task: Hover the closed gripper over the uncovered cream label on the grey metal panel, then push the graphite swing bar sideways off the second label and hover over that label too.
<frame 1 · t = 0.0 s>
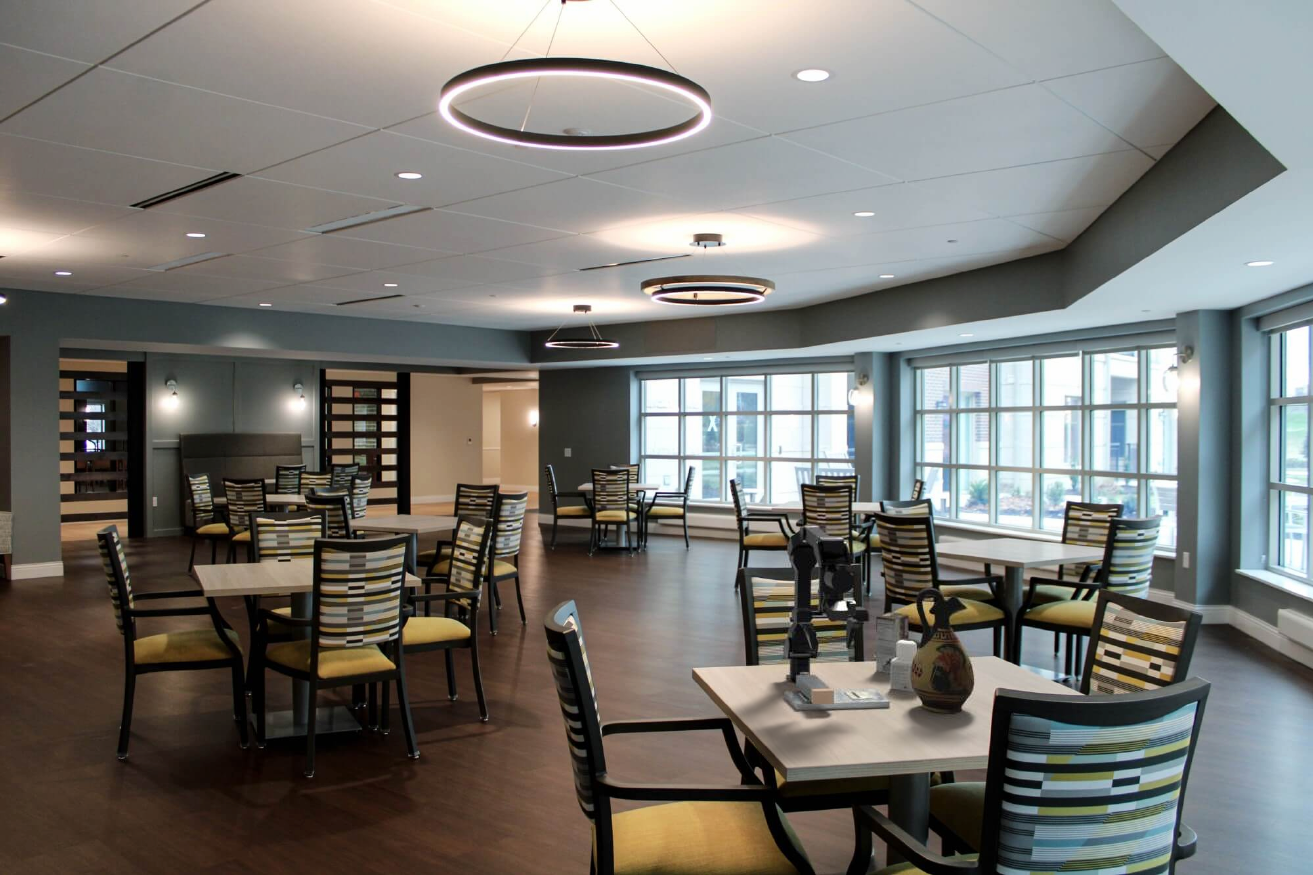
hand: (830, 648, 241), 15 cm above the table, fingers open, 9 cm apart
coffee box: (892, 670, 281), on the table
ceramic jug: (938, 708, 241), on the table
swing bar: (813, 690, 246), point 3 cm above the table, hinge at 0.0°
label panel: (836, 702, 246), on the table
container: (908, 688, 261), on the table
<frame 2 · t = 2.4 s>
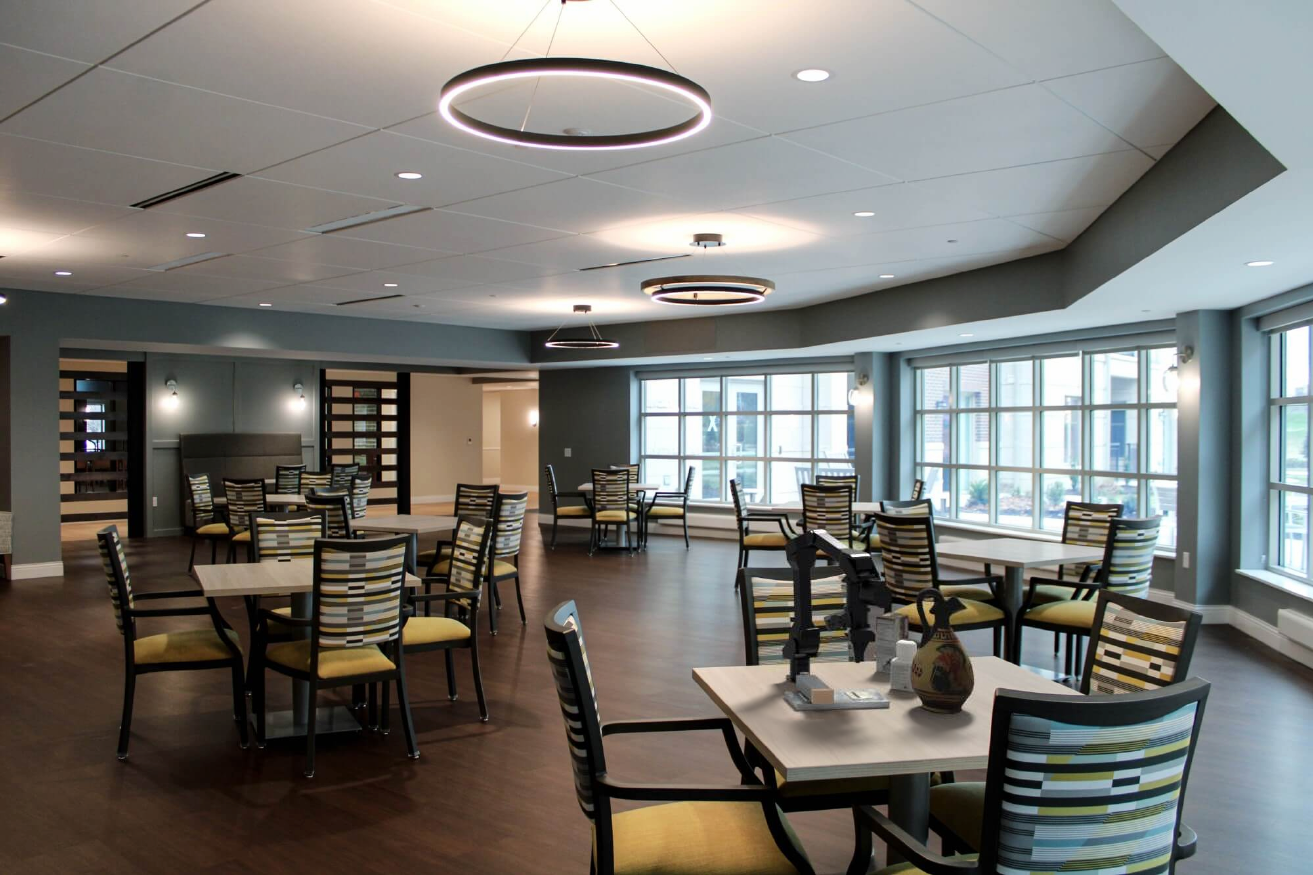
hand: (857, 662, 247), 10 cm above the table, fingers closed
nothing on the table moved.
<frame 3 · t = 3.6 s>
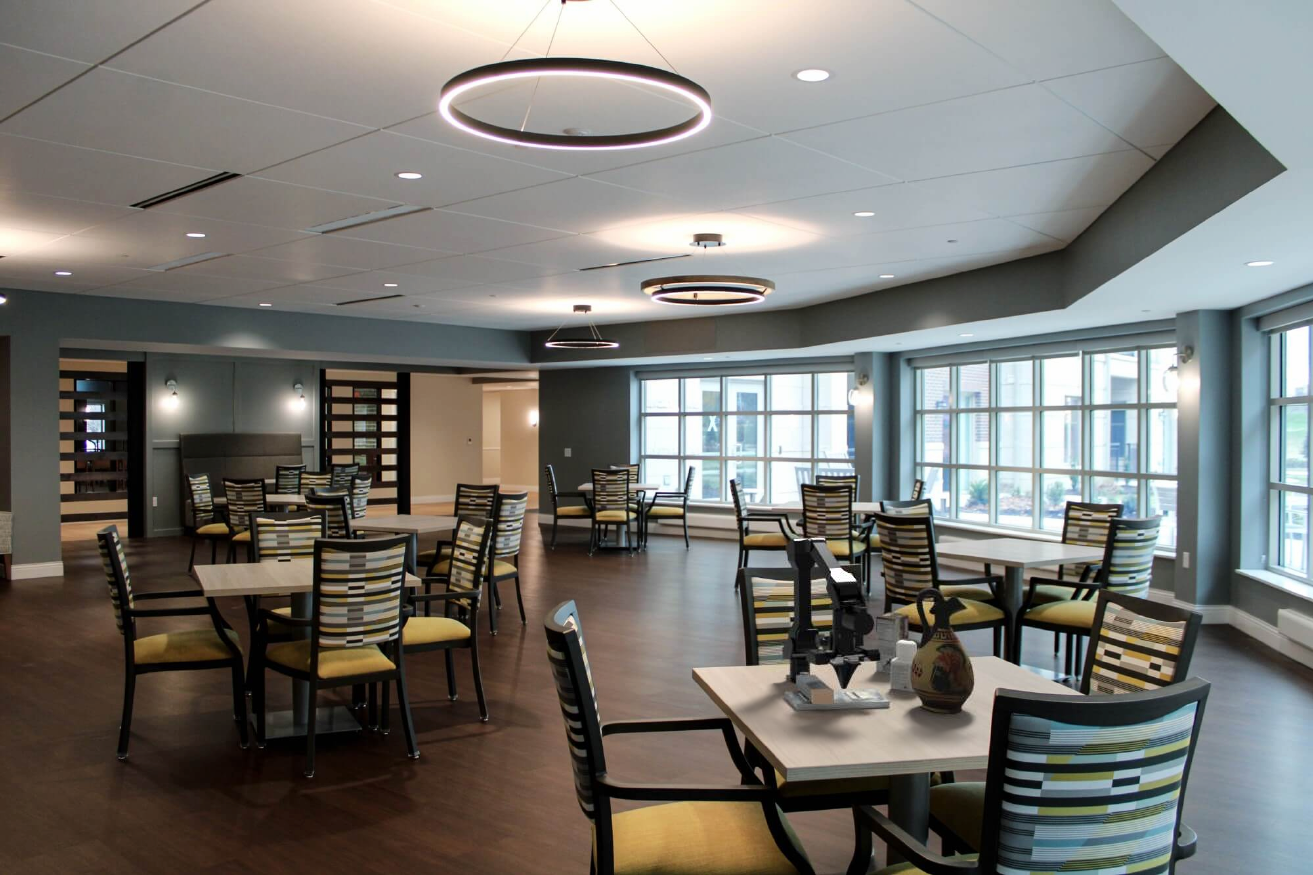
hand: (843, 688, 246), 4 cm above the table, fingers closed
nothing on the table moved.
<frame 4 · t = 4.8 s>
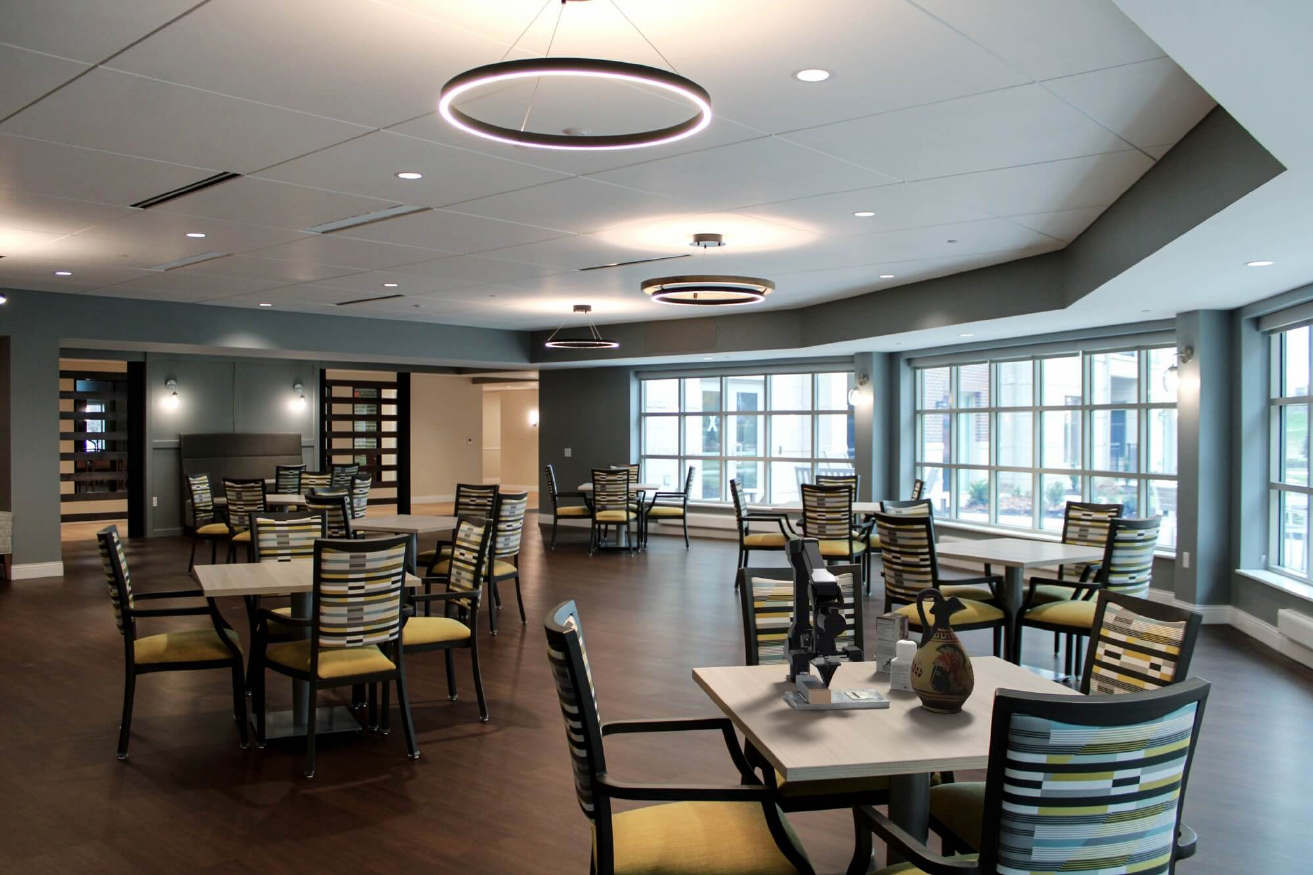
hand: (826, 689, 245), 4 cm above the table, fingers closed
swing bar: (811, 691, 246), point 3 cm above the table, hinge at -2.4°, touching gripper
everything else where it was.
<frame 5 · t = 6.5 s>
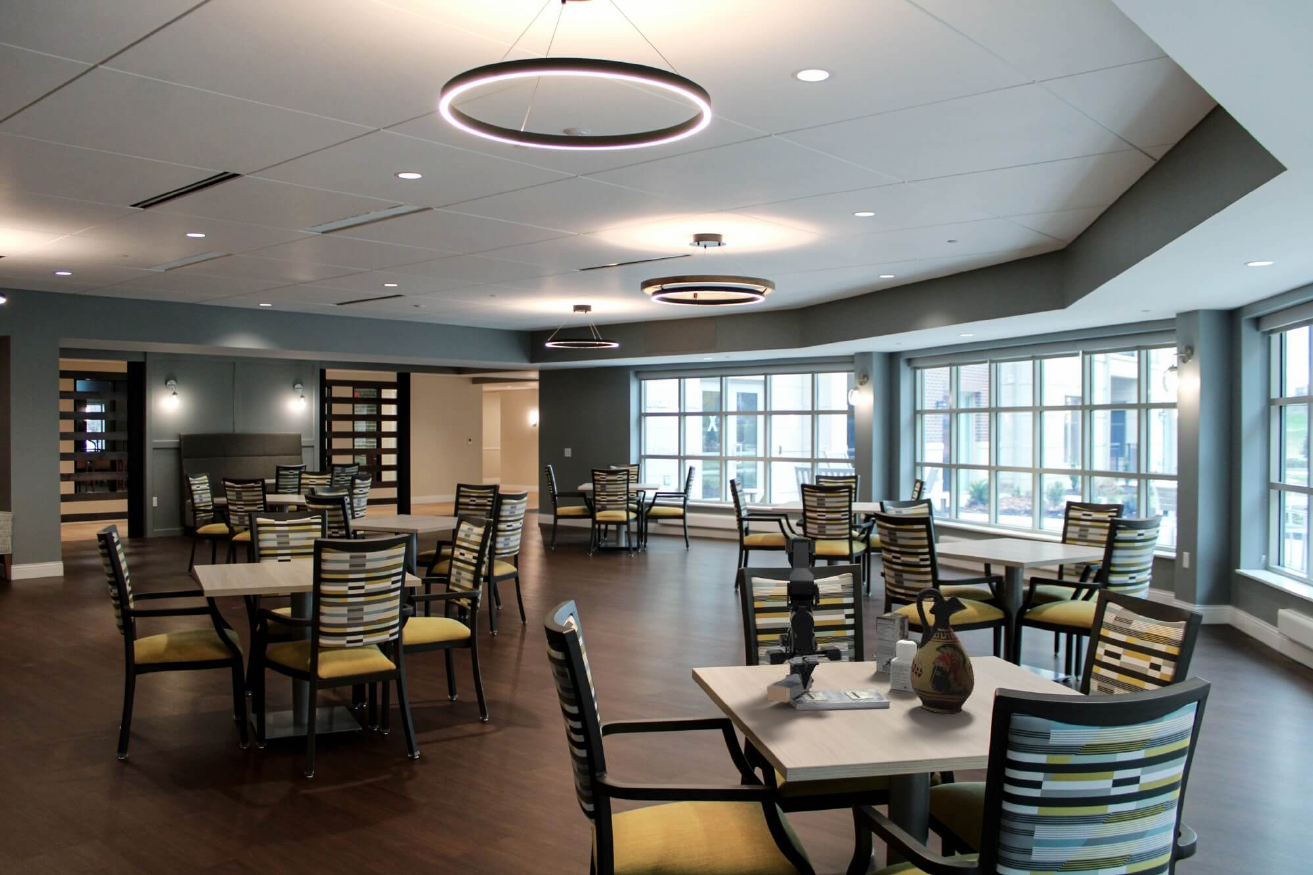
hand: (804, 689, 244), 4 cm above the table, fingers closed
swing bar: (792, 689, 247), point 3 cm above the table, hinge at -38.5°, touching gripper
everything else where it was.
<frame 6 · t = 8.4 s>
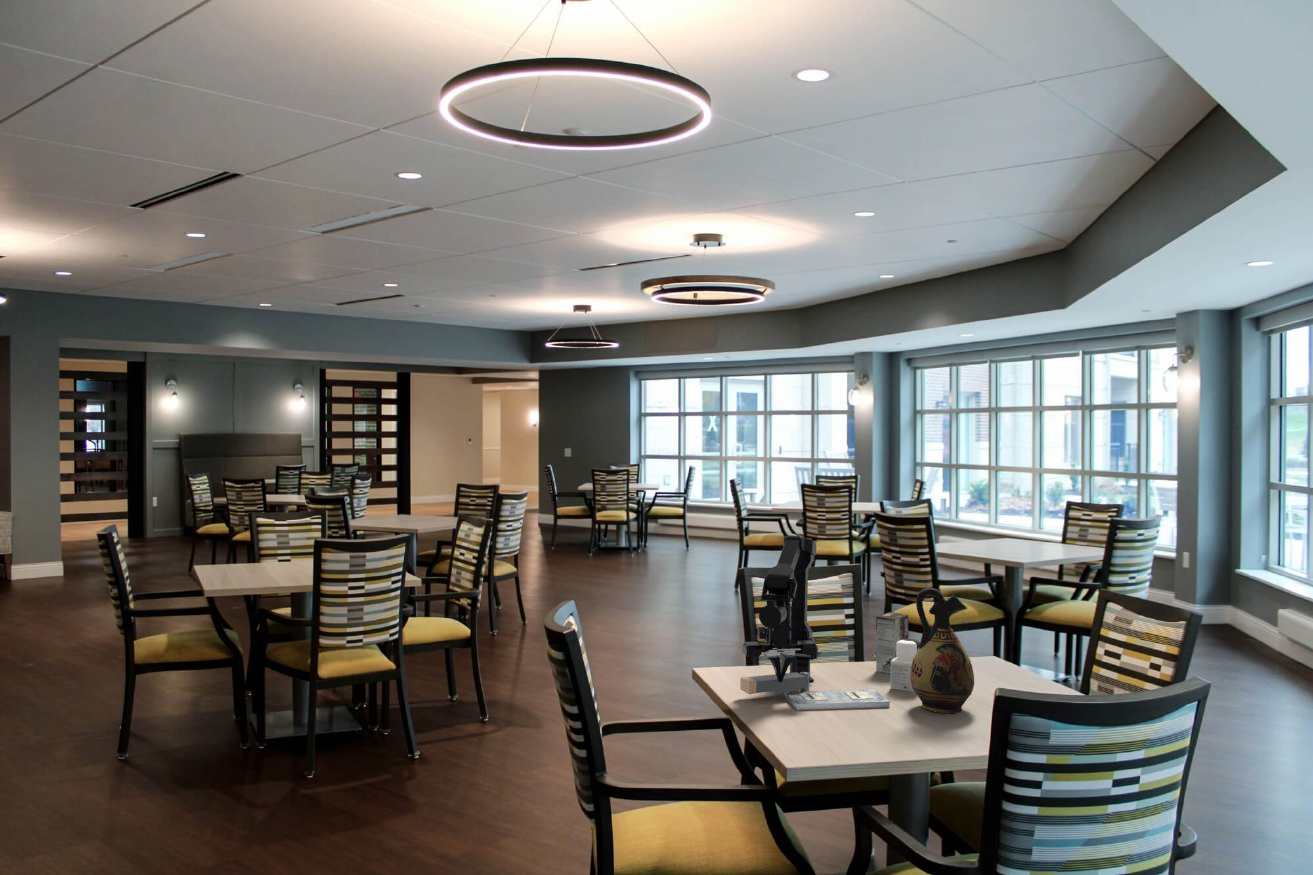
hand: (779, 681, 247), 5 cm above the table, fingers closed
swing bar: (777, 685, 251), point 3 cm above the table, hinge at -76.0°
everything else where it was.
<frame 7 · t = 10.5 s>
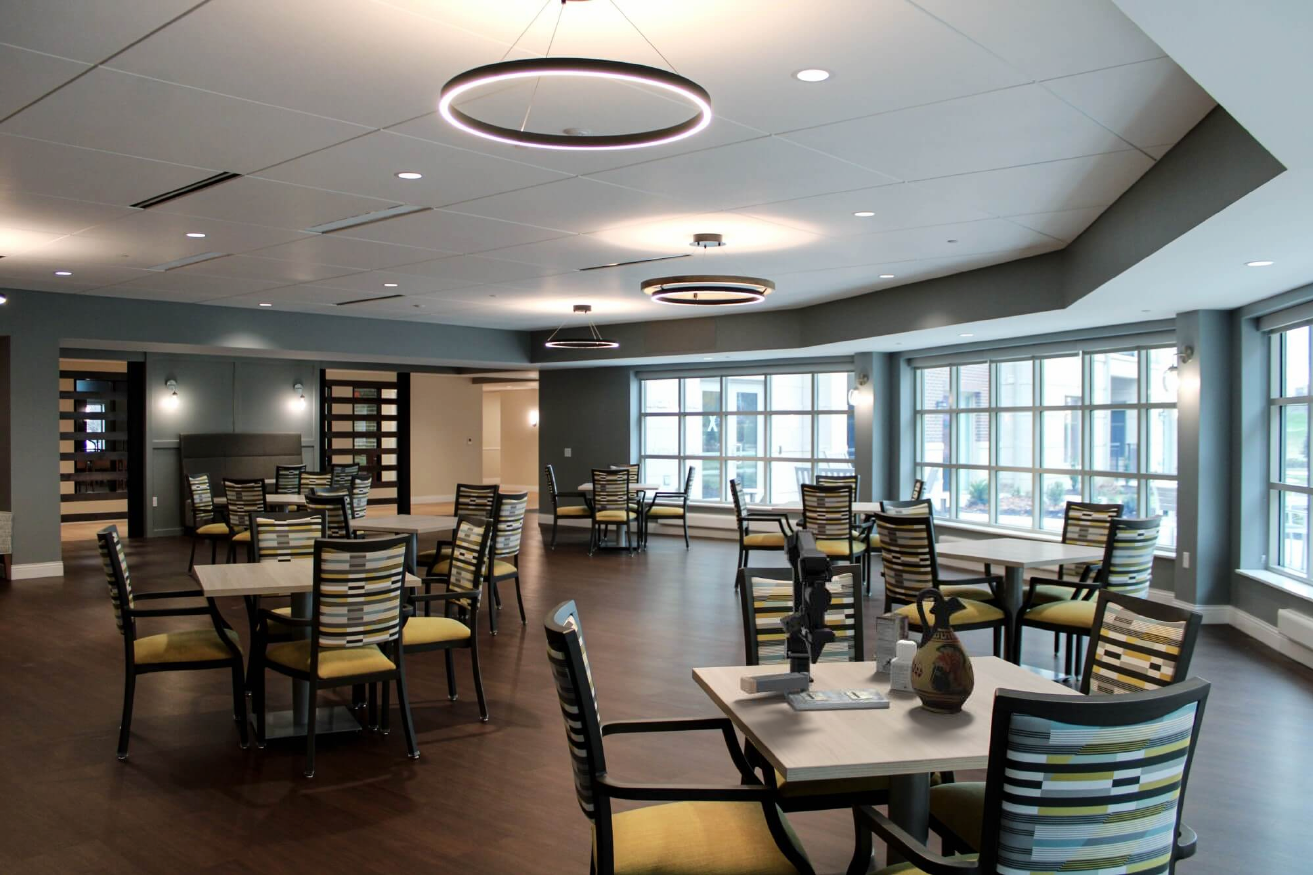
hand: (813, 663, 245), 10 cm above the table, fingers closed
nothing on the table moved.
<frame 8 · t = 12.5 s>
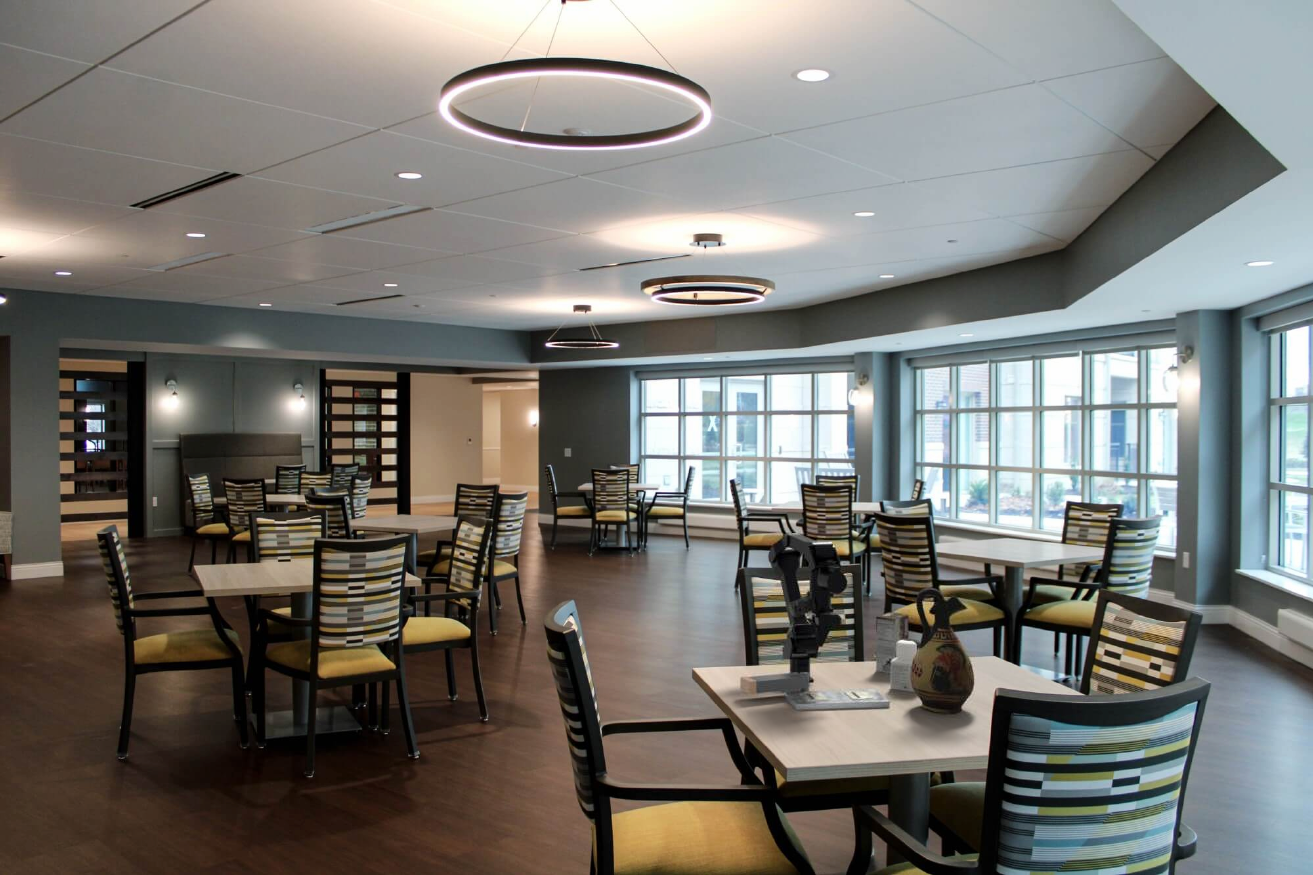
hand: (820, 646, 257), 12 cm above the table, fingers closed
nothing on the table moved.
at the end: swing bar at -76° (first picture: +0°) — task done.
